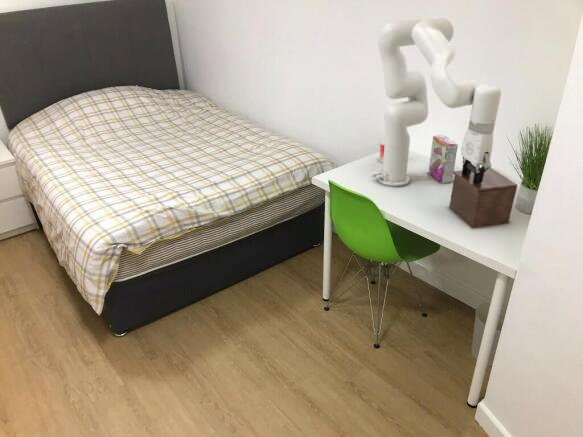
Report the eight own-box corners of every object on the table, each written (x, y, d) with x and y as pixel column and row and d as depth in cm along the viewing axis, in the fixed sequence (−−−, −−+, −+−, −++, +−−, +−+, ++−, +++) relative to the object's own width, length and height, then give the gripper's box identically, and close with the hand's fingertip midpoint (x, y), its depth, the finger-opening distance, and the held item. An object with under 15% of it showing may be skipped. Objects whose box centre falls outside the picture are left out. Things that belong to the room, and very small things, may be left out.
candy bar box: (427, 173, 195) (432, 135, 187) (438, 171, 196) (443, 134, 188) (441, 184, 185) (447, 145, 177) (452, 182, 186) (458, 143, 178)
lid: (477, 191, 148) (480, 175, 145) (452, 173, 161) (455, 158, 158) (517, 187, 151) (521, 171, 148) (490, 169, 164) (493, 154, 161)
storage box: (472, 228, 155) (479, 192, 148) (449, 208, 168) (454, 174, 161) (508, 222, 158) (517, 187, 151) (483, 203, 170) (490, 169, 164)
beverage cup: (383, 164, 204) (385, 133, 197) (375, 159, 209) (377, 129, 202) (394, 161, 206) (397, 131, 199) (387, 157, 211) (389, 127, 204)
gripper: (455, 119, 152) (447, 170, 161) (487, 136, 138) (476, 191, 146) (476, 117, 154) (467, 167, 162) (509, 134, 139) (497, 188, 148)
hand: (471, 178), depth 154 cm, fingers open, 6 cm apart
